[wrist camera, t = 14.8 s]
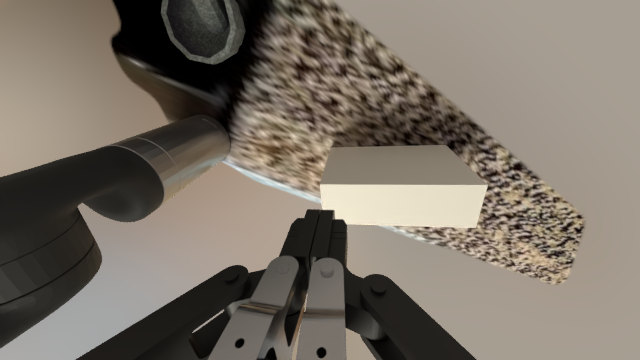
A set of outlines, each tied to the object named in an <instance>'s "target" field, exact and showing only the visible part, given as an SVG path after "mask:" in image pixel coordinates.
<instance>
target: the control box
mask: <svg viewBox="0 0 640 360" xmlns="http://www.w3.org/2000/svg"><path fill="white" fill-rule="evenodd" d="M487 186H488V185H487V184H486V183H485V182H484V181H483V180H482V179H481V178H480V177H479V176H478V175H477V174H476V173H475V172H474V171H473V170H472V169H471V168H469V167H468V166H467V165H466V164H465V163H464V162H463V161H462V160H461V159H460V158H459V157H458V156H457V155H456V154H455V153H454V152H453V151H452V150H451V149H450V148H449V147H448V146H447V145H419V146H372V147H331V149H330V152H329V156H328V159H327V163H326V166H325V169H324V173H323V176H322V180H321V183H320V190H321V202H322V210H334V211H335V219H344V221H345V223H346V224H360V225H362V224H363V225H393V226H427V227H461V228H476V225H477V221H478V218H479V214H480V211H481V207H482V204H483V200H484V197H485V193H486V190H487Z"/></svg>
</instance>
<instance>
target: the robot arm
mask: <svg viewBox="0 0 640 360" xmlns="http://www.w3.org/2000/svg"><path fill="white" fill-rule="evenodd" d="M229 150H230V139H229V136H228V133H227V131H226V130H225V128H224V127H223V126H222V125H221V123H219V122H218V121H217V120H216V119H214V118H212V117H210V116H207V115H194V116H191V117H189V118H186V119H183V120H179V121H177V122H174V123H171V124H168V125H165V126H162V127H159V128H156V129H153V130H151V131H148V132H145V133H142V134H139V135H136V136H133V137H130V138H127V139H125V140H122V141H119V142H116V143H113V144H110V145H107V146H104V147H101V148H99V149H96V150H92V151H89V152H86V153H81V154H78V155H74V156H70V157H67V158H63V159H60V160H56V161H53V162H51V163H48V164H44V165H41V166H38V167H34V168H31V169H28V170H24V171H21V172H18V173H14V174H11V175H7V176H3V177H0V348H2V347H3V346H5V345H6V344H7V343H9V342H10V341H12V340H13V339H15V338H16V337H18V336H19V335H21V334H22V333H24V332H25V331H27V330H28V329H30V328H31V327H33V326H34V325H36V324H37V323H39V322H40V321H41V320H43V319H44V318H46V317H47V316H49V315H50V314H51V313H53V312H54V311H55V310H57V309H58V308H59V307H61V306H62V305H63V304H65V303H66V302H67V301H69V300H70V299H71V298H72V297H73V296H75V295H76V294H77V293H78V292H79V291H80V290H82V289H83V288H84V287H85V286H86V285H87V284H88V283H89V282H90V281H91V280H92V278H93V277H94V276H95V274H96V273H97V272H98V270H99V268H100V265H101V262H102V255H101V251H100V249H99V247H98V245H97V243H96V241H95V239H94V237H93V235H92V233H91V231H90V230H89V228H88V226H87V224H86V222H85V221H84V219H83V217H82V215H81V213H80V211H79V210H78V208H77V206H78V205H79V204H81V203H84V204H85V205H87V206H88V207H89V208H91V209H93V210H94V211H95V212H97V213H99V214H101V215H103V216H104V217H107V218H109V219H113V220H115V221H120V222H135V221H138V220H141V219H143V218H145V217H146V216H148V215H149V214H151V213H152V212H153V211H155V210H156V209H157V208H159V207H160V206H161V205H163V204H164V203H165V202H167V201H168V200H169V199H171V198H172V197H173V196H175V195H176V194H177V193H178V192H180V191H181V190H182V189H184V188H185V187H187V186H188V185H189V184H191V183H192V182H193V181H194V180H196V179H197V178H199V177H200V176H201V175H203V174H204V173H205V172H207V171H208V170H209V169H211V168H212V167H214V166H215V165H216V164H218V163H219V162H220V161H222V160H223V159H224V158H225V157H226V156H227V155H228V153H229ZM346 266H347V225H346V223H345V221H344V219H335V211H334V210H311V209H308V210H307V212H306V215H305V218H298V219H296V220H295V221H294V223H292V225H291V227H290V230H289V232H288V235H287V238H286V240H285V242H284V245H283V248H282V250H281V253H280V255H279V257H277V258H275V259H274V260H272V261H271V262H270V264H269V265H268V267H267V269H264V270H261V271H256V272H251V273H248V270H247V268H245V267H244V266H241V265H235V266H231V267H228V268H226V269H224V270H222V271H221V272H219V273H217V274H216V275H214V276H213V277H211V278H209V279H208V280H206V281H204V282H203V283H201V284H199V285H198V286H196V287H194V288H193V289H191V290H189V291H188V292H186V293H185V294H183V295H181V296H180V297H178V298H176V299H175V300H173V301H171V302H170V303H168V304H167V305H165V306H163V307H161V308H160V309H158V310H157V311H155V312H153V313H152V314H150V315H148V316H147V317H145V318H144V319H142V320H140V321H139V322H137V323H135V324H133V325H132V326H130V327H129V328H127V329H125V330H124V331H122V332H120V333H119V334H117V335H115V336H114V337H112V338H110V339H109V340H107V341H106V342H104V343H102V344H101V345H99V346H97V347H96V348H94V349H92V350H91V351H89V352H87V353H86V354H84V355H82V356H81V357H79V358H78V359H76V360H292V352H293V348H294V345H295V341H296V338H297V334H298V331H299V327H300V324H301V327H300V335H299V342H298V349H297V357H296V360H346V333H345V332H346V331H345V328H348V329H350V330H352V331H354V332H356V333H358V334H360V335H361V338H362V340H363V341H364V343H365V344H366V346H367V347H368V349H369V350H370V351H371V353H372V354H373V356H374V357H375V358H376V360H476V359H475V358H474V357H473V356H472V355H471V354H470V353H469V352H468V351H467V350H466V349H465V348H464V347H462V346H461V345H460V344H459V343H458V342H457V341H456V340H455V339H454V338H453V337H452V336H451V335H449V333H447V332H446V331H445V330H444V329H443V328H442V327H441V326H440V325H439V324H438V323H437V322H435V320H434V319H432V318H431V317H430V316H429V315H428V314H427V313H426V312H425V311H424V310H423V309H422V308H421V307H419V305H417V304H416V303H415V302H414V301H413V300H412V299H411V298H410V297H409V296H408V295H407V294H406V293H405V292H404V291H403V290H401V289H400V288H399V287H398V286H397V285H396V284H395V283H394V282H393V281H392V280H391V279H389V278H388V277H386V276H384V275H380V274H372V275H369V276H366V277H365V278H361V277H358V276H355V275H354V274H352V273H351V272H350V271H349V270H348V269H347V267H346ZM307 293H308V297H307V306H306V311H305V312H304V310H305V304H304V303H305V299H306V294H307ZM223 309H224V312H223V313H221V314H220V315H218V316H217V317H216V318H214V319H213V320H211V321H210V322H209V323H208V324H206V325H205V326H203V327H202V328H200V329H199V330H197V331H196V332H194V333H192V332H193V331H194V330H195V329H196V328H198V327H199V326H200V325H202V324H203V323H205V322H206V321H207V320H209V319H210V318H212V317H213V316H215V315H216V314H217V313H219V312H220V311H221V310H223Z"/></svg>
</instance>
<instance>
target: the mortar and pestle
mask: <svg viewBox="0 0 640 360" xmlns="http://www.w3.org/2000/svg"><path fill="white" fill-rule="evenodd" d="M161 14H162V17H163V20H164V23H165V26H166V29H167V31H168V34H169V37H170V40H171V41H172V42H173V43H174V44H175V45H176V46H177V47H178V48H179V49H180V50H181V51H182V52H183V53H184V54H185V55H186V56H187V57H188V58H189V59H190V60H194V61H199V62H204V63H208V64H218V63H220V62H222V61H224V60H226V59H227V58H229V57H230V56H232V55H234V54H235V53H237V52H238V49H239V46H240V45H241V44H242V41H243V38H244V35H245V32H246V31H245V27H244V22H243V18H242V15H241V14H240V10H239V6H238V4H237V2H236V1H235V0H163V2H162V8H161Z"/></svg>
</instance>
